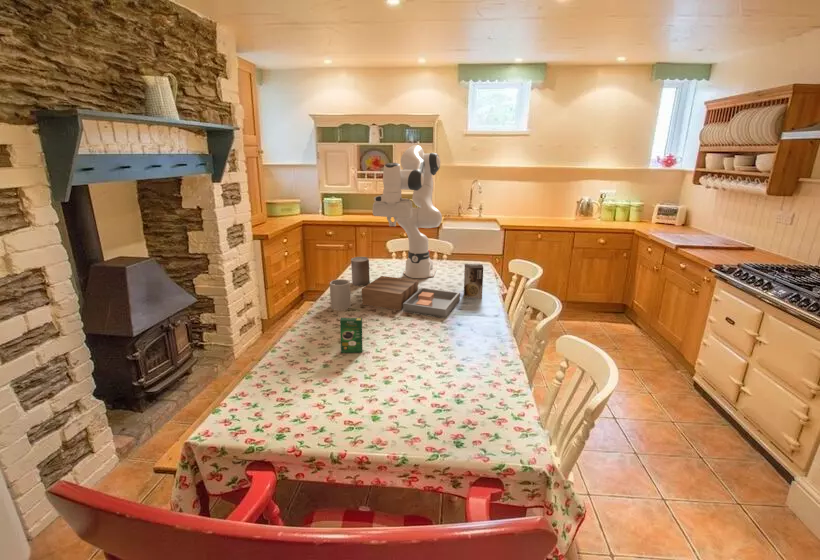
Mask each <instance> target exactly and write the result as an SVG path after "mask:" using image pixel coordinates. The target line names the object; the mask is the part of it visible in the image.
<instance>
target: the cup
mask: <svg viewBox="0 0 820 560" xmlns="http://www.w3.org/2000/svg"><path fill="white" fill-rule="evenodd" d="M350 281H351V280H349V279H342V278H341V279H339V278H338V279H333V280H331V281H330V282H329V292H330V294H329V295H330V308H331V310H334V309H335V310H334V311H346V310H348V308H349V309H350V308H351V307H352V305H351V302H352V300H351V282H350ZM345 309H346V310H345Z"/></svg>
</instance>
